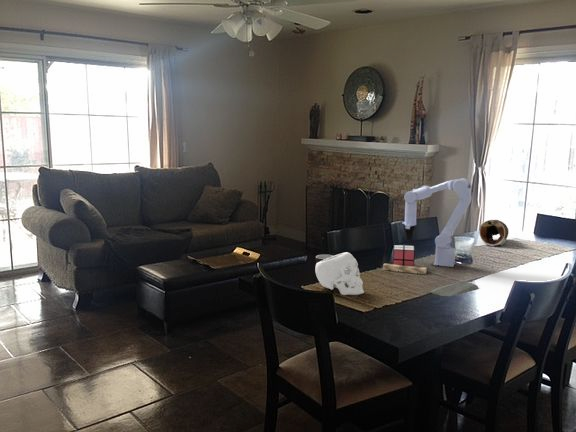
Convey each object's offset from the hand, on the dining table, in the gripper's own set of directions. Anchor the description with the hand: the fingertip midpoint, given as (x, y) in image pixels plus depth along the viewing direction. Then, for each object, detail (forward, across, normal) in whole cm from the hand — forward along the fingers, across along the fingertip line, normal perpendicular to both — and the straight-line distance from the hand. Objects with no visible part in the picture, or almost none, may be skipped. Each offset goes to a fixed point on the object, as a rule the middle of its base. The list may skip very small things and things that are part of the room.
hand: (409, 240), depth 266 cm
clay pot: (+11, -63, +40) cm, 75 cm away
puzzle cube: (+11, +15, 0) cm, 19 cm away
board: (+10, +22, +2) cm, 25 cm away
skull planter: (+11, +62, -17) cm, 66 cm away
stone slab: (+11, +44, +27) cm, 53 cm away
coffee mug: (+11, +47, -28) cm, 56 cm away
